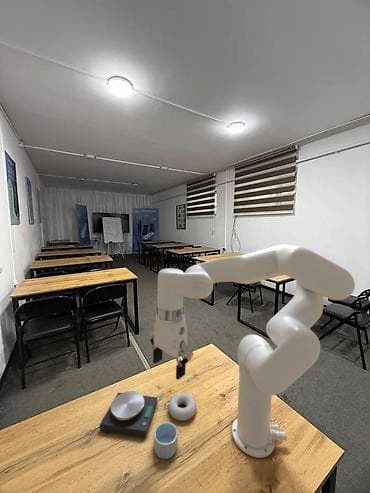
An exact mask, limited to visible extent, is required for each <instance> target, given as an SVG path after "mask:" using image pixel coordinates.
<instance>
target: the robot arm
mask: <svg viewBox="0 0 370 493" xmlns="http://www.w3.org/2000/svg"><path fill="white" fill-rule="evenodd" d="M280 276H286V277H288V278H290V279H293V280H295V282H296V284H295V286H296V288H295V293H294V295H293V297H291V299H290V301H288V303H286V304H285V305H284V306H283V307H282V308H281V309H280V310H278V312H276V314H274V315H273V316H272V317H271V318H270V319H269V320H268V322H267V323H266V327H265V332H266V335H267V336H268V337H269V339H270V340H271V341H272V343H273V344H274V345H275V346H276V348H275V349H274V348H273V347H272V346H271V345H270V344H269V342H268V341H267V340H266V339H264V338H263V337H262V336H260V335H258V334H247V335H245V336H244V337H242V339H240V342H239V345H238V348H237V360H238V361H237V362H238V393H237V394H238V395H237V417H236V418H235V419H234V420H233V422H232V424H231V436H232V439H233V441H234V443H235V445H236V446H237V447H238V448H239V449H240V450H241V451H242V452H243V453H245V454H246V455H248V456H250V457H253V458H256V459H257V458H259V459H260V458H266V457H269V456H270V455H271V454H272V453H273V452H274V449H275V445H276V444H275V442H276V440H280V441H287V440H288V437H287V432H286V431H281V430H280V425H279V424H272V423H271V411H272V396H275V395H279V394H281V393H283V392H284V391H285V390H287V389H288V388H289V387H290V386H291V385H293V384H294V383H295V382H296V381H297V380H298V379H299V378H300V377H301V376H302V375H303V374H305V373H306V372H307V371H308V370H309V369H310V368H311V367H312V366H313V365H314V364H315V363H316V361H317V360H318V358H319V355H320V353H321V342H320V339H319V337H318V336H317V335H316V333H315V332H314V331H312V330H311V328H312V327H313V326H314V325H315V324H316V323H317V321H319V319H320V318H321V316H323V311H324V305H325V304H324V303H325V301H324V298H326V299H329V300H331V301H332V300H333V301H342V300H346V299H347V298H349V297H350V296H351V295H352V294H353V293H354V290H355V288H356V287H355V286H356V285H355V284H356V282H355V279H354V277H353V276H352V274H351V273H350V272H349V271H348V270H347V269H345V268H344V267H342V266H340V265H338V264H336V263H334V262H333V261H330V260H329V259H327V258H326V257H324V256H322V255H320V254H319V253H317V252H315V251H313V250H312V249H309V248H307V247H303V246H298V245H290V244H279V245H273V246H271V247H267V248H264V249H260V250H257V251H256V250H255V251H252V252H249V253H244V254H240V255H235V256H228V257H224V258H217V259H212V260H208V261H205V262H200V263H197V264H193V265H191V266H189V267H188V268H187V269H186V270H185V272H184V271H183V270H181V269H179V268H171V267H169V268H162V269H161V270H159V272H158V274H157V291H156V292H157V294H156V296H157V297H156V298H157V300H156V304H157V305H156V314H155V319H154V326H153V330H150V331H148V334H149V338H150V340H149V341H150V343H151V345H152V346H151V349H152V350H153V351H152V363H153V364H157V363H159V362H161V361H162V360H163V352H164V353H166V354H167V355H169V356H171V357H173V358H174V359H175V361H176V363H177V364H176V365H175V379H176V380H177V381H178V380H180V379H181V378H183V377H184V376H186V367H187V366H186V365H187V363H189V362H191V360H192V358H193V356H194V352H193V351H192V349H191V348H190V347H189V346H188V327H187V321H186V314H185V313H184V302H185V301H184V298H190V299H194V300H202V299H206V298H208V297H209V296H210V295H211V294H212V292H213V290H214V284H216V283H224V282H228V283H229V282H230V283H231V282H232V283H236V284H244V285H250V284H251V285H252V284H255V283H259V282H262V281H265V280H266V281H267V280H269V279H272V278H277V277H280ZM180 356H181V357H180Z"/></svg>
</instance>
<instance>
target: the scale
mask: <svg viewBox="0 0 370 493" xmlns="http://www.w3.org/2000/svg"><path fill="white" fill-rule="evenodd" d="M122 393H123V392H117V394H116V396H115V397H114V399H115V398H116V397H117V396H118V395H120V394H122ZM142 396H143V398H144V408H143V410H142V411H141V413H140V414H139V415H137V416H136V417H134V418H132V419H129V420H118V419H116V418H114V417H113V416H112V414H111V405H110V406H109V408H108V409H107V410H106V413H105V414H104V416H103V418H102V420H101V421H100V423H99V432H101V433H108V434H113V435H114V434H115V435H121V436H128V437H135V438H141V439H147V436H148V433H149V430H150V427H151V424H152V421H153V418H154V415H155V412H156V408H157V405H158V396H150V395H149V396H148V395H142Z"/></svg>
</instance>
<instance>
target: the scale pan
mask: <svg viewBox="0 0 370 493" xmlns="http://www.w3.org/2000/svg"><path fill="white" fill-rule="evenodd" d="M121 393H122V394H120V395H118V396H117V395H116V396H117V397H116V396H115V397H116V398H115V397H114V399H113V400H112V402H111V404H110V406H111V414H112V416H113V417H114V418H116V419H118V420H129V419H132V418H134V417H136V416H137V415H139V414H140V413H141V411H142V410H143V408H144V398H143V396H144V395H142V393H140V392H139V391H135V390H127V391H124V392H121Z"/></svg>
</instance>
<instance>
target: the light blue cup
mask: <svg viewBox="0 0 370 493" xmlns="http://www.w3.org/2000/svg"><path fill="white" fill-rule="evenodd" d="M178 437H179V432H178V428H177V426H176V425H175V424H174V423H172V422H169V421H164V422H160V424H158V425H157V426H156V427H155V429H154V432H153V450H154V454H155V455H156V456H157V457H158V458H160V459H163V460H167V459H170V458H172V457H173V456H174V455H175V454H176V452H177V450H178V445H179V444H178Z"/></svg>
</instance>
